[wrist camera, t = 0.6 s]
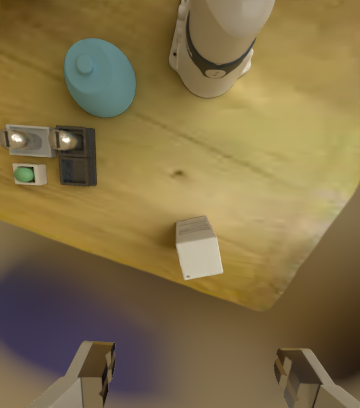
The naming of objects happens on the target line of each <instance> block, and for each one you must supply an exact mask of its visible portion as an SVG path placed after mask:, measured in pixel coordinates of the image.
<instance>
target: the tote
mask: <svg viewBox="0 0 360 408" xmlns="http://www.w3.org/2000/svg"><path fill="white" fill-rule="evenodd" d="M6 129H9V130H16V131H22V132H29V133H35V134H37V135H39V136H40V137H41V139H42V147H41V148H40V149H38V150H24V149H9V152H10V155H22V156H37V157H57V155H56V149H54V148H53V147H51V145H50V144H49V142H48V135H49V133H50V132H51V131H53V130H54V128H50V127H39V126H25V125H11V124H6Z"/></svg>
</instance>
